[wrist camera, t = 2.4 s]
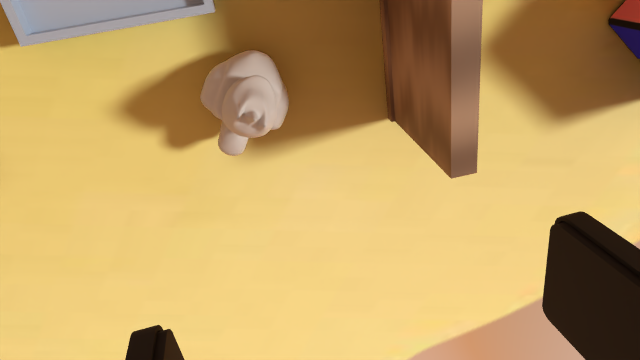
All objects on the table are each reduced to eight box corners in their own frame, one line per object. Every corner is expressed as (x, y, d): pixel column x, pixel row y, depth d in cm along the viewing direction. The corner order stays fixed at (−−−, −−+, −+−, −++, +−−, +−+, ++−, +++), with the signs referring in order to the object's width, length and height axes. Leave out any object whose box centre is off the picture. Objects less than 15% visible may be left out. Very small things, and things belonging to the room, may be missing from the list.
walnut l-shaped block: (369, -143, 25) (445, -189, 17) (452, -156, 26) (567, -206, 17) (388, 118, 33) (446, 179, 24) (451, 104, 34) (530, 160, 25)
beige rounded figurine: (298, 61, 30) (320, 95, 23) (264, 146, 32) (275, 201, 25) (219, 30, 28) (217, 57, 21) (189, 123, 31) (179, 175, 24)
